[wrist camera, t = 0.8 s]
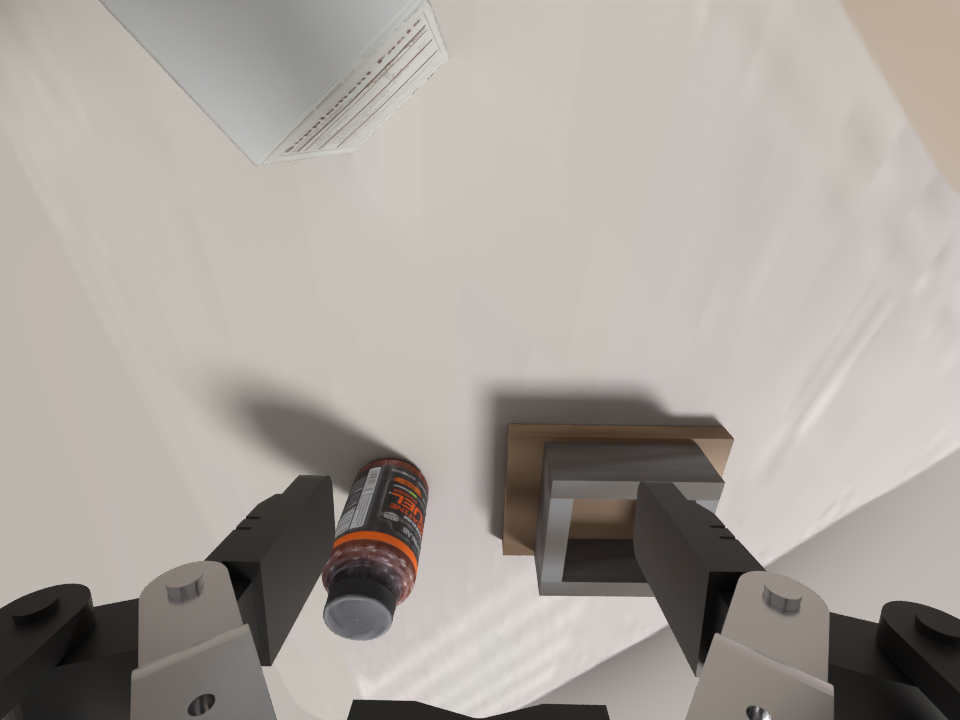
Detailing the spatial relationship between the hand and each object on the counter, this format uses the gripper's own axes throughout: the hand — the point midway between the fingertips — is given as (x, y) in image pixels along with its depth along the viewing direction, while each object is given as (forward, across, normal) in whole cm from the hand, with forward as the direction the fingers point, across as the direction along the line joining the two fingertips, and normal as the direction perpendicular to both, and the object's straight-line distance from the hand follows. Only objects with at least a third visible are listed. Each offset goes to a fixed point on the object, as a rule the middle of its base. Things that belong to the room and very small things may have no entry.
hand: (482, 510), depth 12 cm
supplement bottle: (+22, +7, +11) cm, 26 cm away
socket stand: (+23, -10, +11) cm, 27 cm away
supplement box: (+15, +7, -17) cm, 24 cm away
